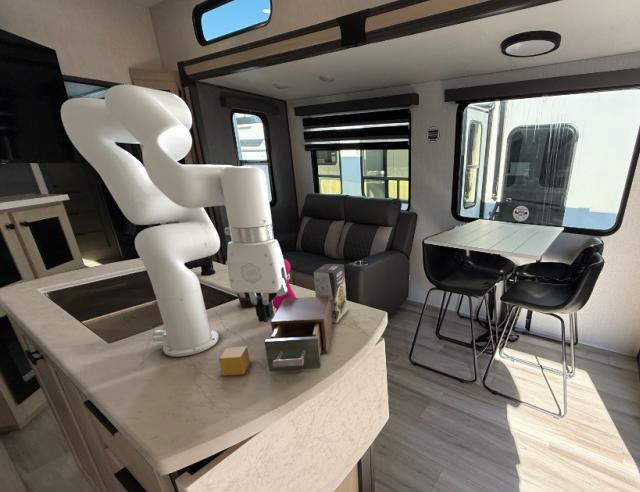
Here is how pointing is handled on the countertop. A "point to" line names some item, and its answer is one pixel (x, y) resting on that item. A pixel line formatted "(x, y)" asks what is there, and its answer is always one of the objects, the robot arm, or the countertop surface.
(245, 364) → the block
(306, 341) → the drawer
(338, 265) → the coffee box
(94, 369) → the countertop surface
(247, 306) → the coffee mug
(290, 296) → the pepper mill
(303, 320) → the cabinet
